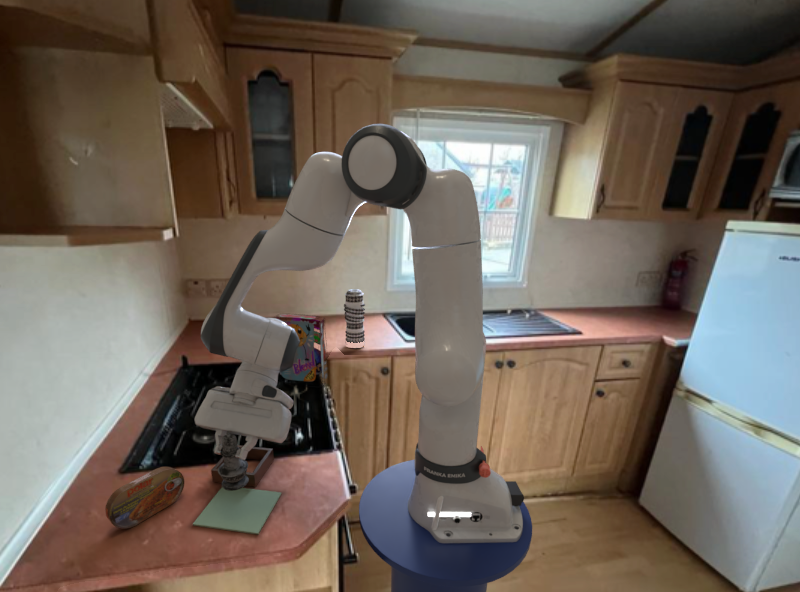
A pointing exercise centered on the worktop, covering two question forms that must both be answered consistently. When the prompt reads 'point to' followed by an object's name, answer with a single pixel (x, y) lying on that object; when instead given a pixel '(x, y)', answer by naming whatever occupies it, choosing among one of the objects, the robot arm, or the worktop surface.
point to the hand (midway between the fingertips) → (229, 456)
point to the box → (306, 349)
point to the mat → (238, 510)
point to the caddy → (255, 477)
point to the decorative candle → (354, 316)
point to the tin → (144, 497)
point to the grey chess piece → (232, 465)
